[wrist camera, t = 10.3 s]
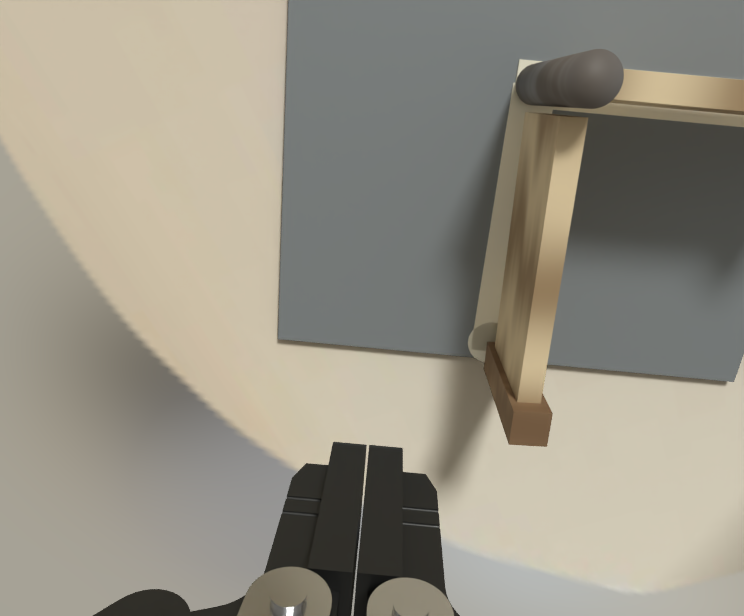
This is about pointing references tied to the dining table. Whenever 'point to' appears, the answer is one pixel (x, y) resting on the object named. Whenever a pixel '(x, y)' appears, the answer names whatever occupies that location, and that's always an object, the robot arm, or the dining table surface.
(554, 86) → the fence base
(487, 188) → the board
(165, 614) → the robot arm
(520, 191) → the fence gate
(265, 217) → the dining table surface
